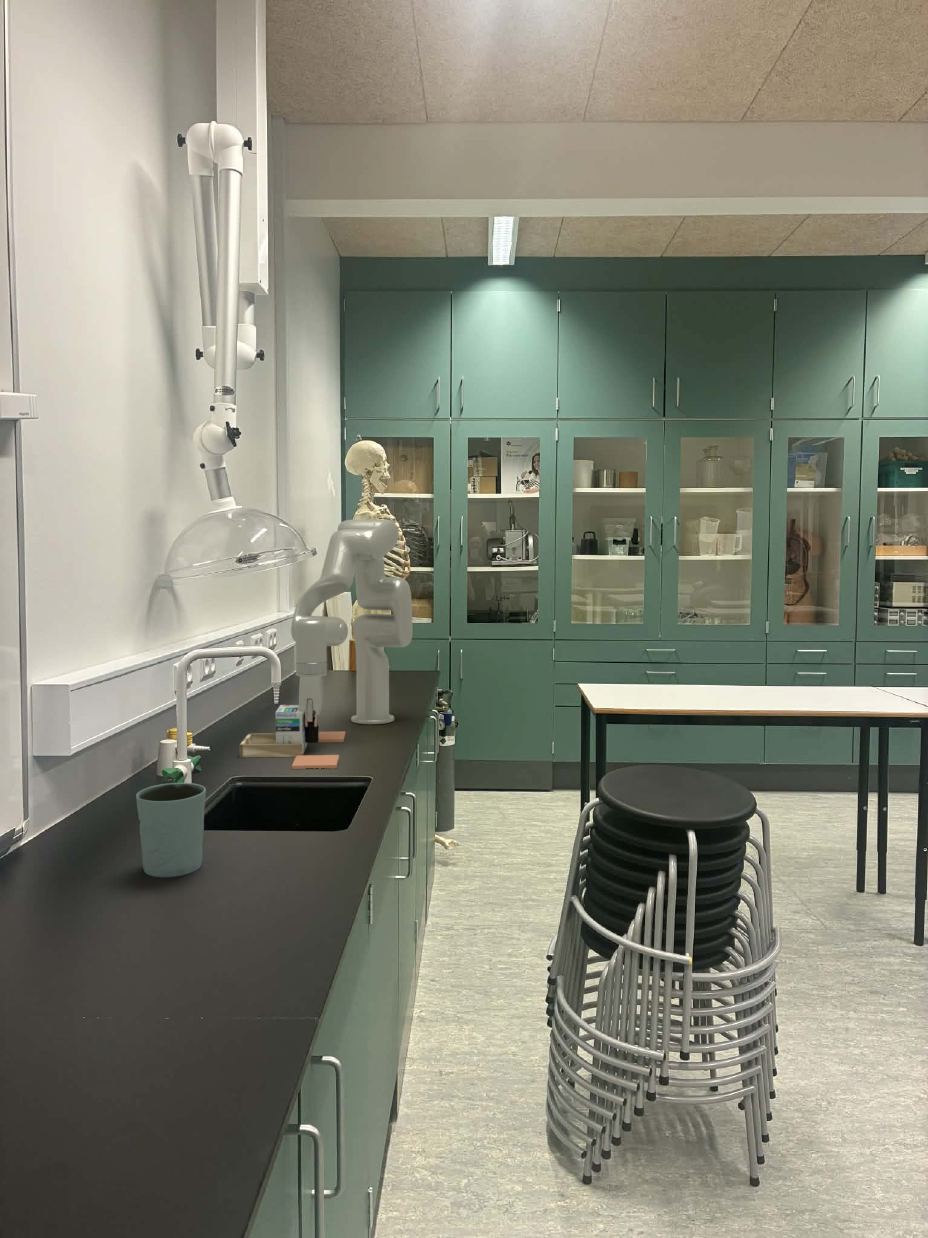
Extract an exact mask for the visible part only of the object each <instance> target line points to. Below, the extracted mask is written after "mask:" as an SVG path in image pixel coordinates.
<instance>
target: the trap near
mask: <svg viewBox="0 0 928 1238" xmlns="http://www.w3.org/2000/svg"><path fill="white" fill-rule="evenodd" d="M339 760H340V755H339V754H324V755H323V754H321V755H319V754H314V755H309V754H307V755H304V754H303V755H300V756H296V757H294V760H293V763H292V765H291V770H307V769H306V768H314V769H313V770H316V769H315V768H319V770H320V769H321V768H325V769H326V768H327V769H328V770H329V768H330V770H331V769H332V770H333V769H337V767H338V763H339ZM325 769H324V770H325ZM321 770H322V769H321Z"/></svg>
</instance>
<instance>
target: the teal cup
mask: <svg viewBox="0 0 928 1238" xmlns="http://www.w3.org/2000/svg"><path fill="white" fill-rule="evenodd" d="M206 793H207V790H206V787H205V786H203V785H201V784H198V783H193V782H167V783H162V784H155V785H151V786H149V787H146V788H143V789H141V790H140V791H138V792H137V793H136V794H135V800H136V807H137V813H138V820H139V836H140V844H141V856H142V868H143V871H144V873H145V874H146V875H148V876H151V877H155V878H175V877H180V876H185V875H187V874H191V873H193V872H195V871H198V870H199V869H200V868H201V867H202V864H203V846H202V845H203V843H204V841H203V840H204V829H205V823H204V820H205V806H206V796H207V795H206Z"/></svg>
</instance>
